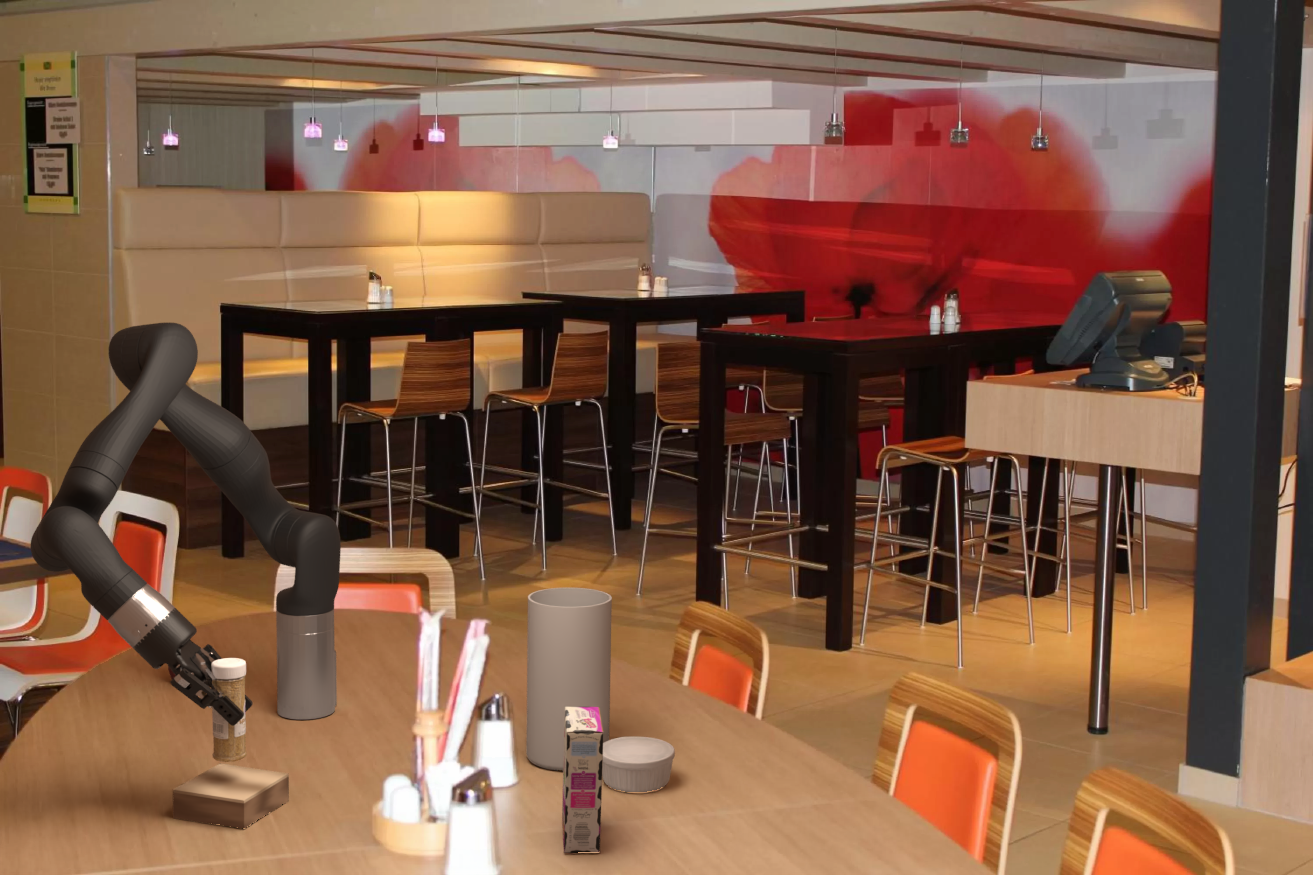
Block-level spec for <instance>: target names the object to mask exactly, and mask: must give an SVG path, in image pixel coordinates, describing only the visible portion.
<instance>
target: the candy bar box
mask: <svg viewBox="0 0 1313 875" xmlns="http://www.w3.org/2000/svg"><path fill="white" fill-rule="evenodd" d="M602 768H603V727H602V722H601V715H600V708H599V707H565V722H564V757H563V771H562V805H561V806H562V807H561V808H562V810H561V811H562V813H561V814H562V815H561V818H562V819H561V824H562V840H563V841H562V842H563V853H564V854H565V853H578V852H599V851H600V852H601V831H602V830H601V827H602V825H601V824H602V820H601V819H602V800H603V799H602V797H603V796H602V795H603V777H602Z"/></svg>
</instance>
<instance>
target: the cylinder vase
mask: <svg viewBox="0 0 1313 875" xmlns="http://www.w3.org/2000/svg"><path fill="white" fill-rule="evenodd" d="M612 598H613V597H612V595H611V594H609V593H607V592H605V591H601V590H598V589H593V588H586V587H585V588H584V587H553V588H551V587H550V588H545V589H539V590H536V591H534V592H531V593H530V594H528V595H527V636H526V638H527V645H526V646H527V647H526V648H527V651H526V655H527V658H526V659H527V662H526V738H525V739H526V740H525V741H526V743H525V744H526V750H525V751H526V753H525V754H526V758H527V759H528V760H529V761H530V762H531V763H532V764H533V765H535V766H537V767H540V768H542V769H546V770H552V771H558V770H562V771H561V772H563V757H564V722H565V707H599V708H600V715H601V722H602V727H603V743H604V742H606V741H609V740H610V725H611V723H610V720H611V718H610V717H611V716H610V714H611V712H610V710H611V667H612V666H611V662H612V659H611V658H612V651H611V650H612V606H613V605H612V602H613V601H612V600H613V599H612Z"/></svg>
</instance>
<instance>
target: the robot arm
mask: <svg viewBox="0 0 1313 875" xmlns="http://www.w3.org/2000/svg"><path fill="white" fill-rule="evenodd" d="M198 352H199V350H198V344H197V341H196V338H195V337H194V335H193V333H192V332H191V331H190V330H189V328H187V327H186V326H185V325H183V324H180V323H177V322H156V323H148V324H140V325H133V326H129V327H125V328H122V329H120V330H118V331H117V332H115V334H114V335H113V336H112V337H111V339H110V341H109V344H108V359H109V362H110V366H111V368H112V371H113V372H114V373H115V374H114V375H115V376H116V378H117V379H118V380H119V381H120V382H121V383H122V385H123V386H124V387H125V388H126V389H127V390H128V391H129V392H128V394H127V395H126V396H125V397H124V399H122V401H120V403H119V404H118V405H117V406H116V407H115V408H114V409H113V410H112V411H111V412H110V413H108V415H106V417H104V418H103V420H101V421H100V422H99V423H98V424H97V425H96V426H95V427H94V428H93V429H92V430H91V431H90V432H89V434H88V435H87V436H86V437H85V439H84V440H83V442H82V443H81V445H80V446H79V448H78V450H77V452H76V453H75V456H74V458H73V459H72V461H71V463H70V464H69V466H68V468H67V470H66V473H65V475H64V478H63V480H62V482H61V484H60V487H59V489H58V492H57V494H56V496H54V499H53V500H52V502H51V503H50V504H49V507H48V508H47V509H46V511H45V514H44V515H43V517H42V518H41V520H40V522H39V524H38V525H37V527H36V528H35V530H34V531H33V534H32V536H31V540H30V551H31V552H30V553H31V555H32V557H33V560H34V561H35V563H36V564H38V566H39V567H41V569H44V570H46V571H50V572H53V573H54V572H55V573H58V572H64V571H67V570H70V571H71V572H72V573H73V574H74V575H75V576H76V578H77V579H78V580H79V582H80V588H81V594H82V596H83V597H84V599H85V600H86V601H87V603H88V604H89V605H91V607H93V609H94V610H96V611H97V612H98V613H99V614H100V615H101V616H102V618H104V619H105V620H106V621H107V622H108V624H110V625H111V627H112V628H113V629H114V631H115V632H116V634H118V635H119V636H120V637H121V638H122V639H123V640H124V641H125V643H127V644H128V645H129V646H130V647H131V648H132V649H133V650H134V651H135V652H136V653H137V654H138V655H139V656H140V657H141V658H142V659H143V660H144V661H146V662H147V664H149V665H150V666H151V668H153V669H154V670H159V669H160V668H161V667H163V666H164V665H165V664H166V665H167V667H168V666H169V667H170V669H171V670H172V672H173V673H174V674H175V677H174V678H173V679H171V680H170V681H169V682H170V685H172V687H173V688H175V689H176V690H178V691H179V692H180V693H181V694H183V695H184V696H185V697H187V699H189V700H190V701H192V702H193V703H195V704H196V705H197V706H198V707H200V708H201V709H203V710H205V709H206V708H207V707H208V708H210V709H212V707H213V708H214V709H215V710H216V711H217V712H218V713H219V714H220V715H221V716H222V717H223V718H224V719H225V720H226V721H227V722H228V723H229V724H230V725H232V726H234V725H236V724H237V723H238V722H239V721H240V720H241V719H242V718H243V716H244V712H243V711H242V710H241V709H240V708H239V707H238V706H237V705H235V704H234V703H233V702H232V701H231V700H230V699H229V698H228V697H227V696H225V695H224V693H223V691H222V690H221V689H220V688H219V687H218V685H217V684H216V678H215V676H214V675H213V673H212V672H211V664H212V662H213V661H215V660H218V659H223V658H222V656H220V654H219V653H218V652H217V650H216V649H215V648H214V647H213V645H211V644H210V643H207V644H206V645H205V646H204V647H201V646H199V645H198V644H196V643H195V642H194V641H192V638H193V637H194V636H195V635H196V634H197V630H198V629H197V628H196V626H195V625H193V623H192V622H191V621H190V620H188V618H187V617H186V616H184V614H182V613H181V612H180V611H179V610H178V609H177V608H176V607H175V605H173V604H172V603H171V602H170V601H169V600H168V599H167V597H165V596H164V595H163V594H162V593H161V592H159V591H158V590H157V589H155V588H154V587H152V585H150V584H149V583H148V582H147V581H146V580H144V578H143V577H142V576H140V575H139V573H137V571H135V569H134V568H132V567H131V566H130V565H129V564H128V563H127V562H126V561H125V560H124V559H123V557H122V556H121V554H120V553H119V551H118V550H117V547H116V546H115V545H114V543H113V542H112V541H111V539H110V538H109V536H108V535H107V534H106V531H104V529H103V528H102V527H101V525H100V524H99V522H100V519H101V518H102V516H103V514H104V512H105V511H106V510H107V508H108V507H109V506H110V505H111V503H112V501H113V500H114V498H115V496H116V494H117V493H118V491H119V488H120V487H121V485H122V483H123V481H124V479H125V476H126V474H127V472H128V470H129V468H130V466H131V464H132V462H133V461H134V459H135V457H136V455H137V453H138V452H139V450H140V448H141V447H142V445H143V444H144V442H145V440H146V439H147V438H148V436H149V435H150V433H151V432H152V430H153V429H154V428H155V427H156V425H157V424H158V422H159V421H161V422H162V423H163V425H164V426H165V427H166V428H167V429H168V430H169V431H170V433H171V434H172V435H173V436H174V437H175V439H177V441H178V442H180V444H181V445H182V446H183V447H184V449H186V450H187V451H188V453H189V454H190V455H191V457H192V458H193V459H194V461H195V462H196V463H197V465H198V466H199V467H200V468H201V469H202V471H203V472H204V473H205V474H206V475H207V477H208V478H209V479H210V480H211V481H212V482H213V483H214V485H215V486H217V488H218V489H219V490H220V491H221V493H223V495H224V496H225V497H226V498H227V499H228V500H229V502H230V503H231V504H232V505H233V506H234V508H235V509H236V510H237V511H238V512H239V513H240V514H241V515H242V517H243V518H244V519H245V521H246V522H247V524H248V525H249V528H251V530H252V531H253V533H254V535H255V536H256V538H257V539H258V541H259V543H260V544H261V545H262V547H263V549H264V550H265V552H267V554H268V555H269V557H270V558H271V559H273V560H274V561H275V562H276V563H278V564H280V565H283V566H286V567H289V568H295V569H294V571H295V572H294V582H293V585H292V586H289V587H287V588H284V589H280V591H278V593H277V594H276V597H275V599H276V601H275V609H276V610H275V613H276V615H275V616H276V618H275V619H276V620H275V621H276V626H275V627H276V677H277V678H276V688H277V689H276V694H277V695H276V698H277V701H276V704H277V706H276V707H277V709H276V710H277V714H278V716H280V717H283V718H286V719H291V720H315V719H320V718H325V717H327V716H330V715H331V714H333V713H334V712H335V710H336V706H337V704H338V701H337V699H338V698H337V697H338V696H337V695H338V694H337V692H338V691H337V689H338V688H337V651H336V649H335V600H336V596H337V595H338V591H339V586H340V573H341V572H340V569H341V568H340V566H341V549H342V548H341V546H342V545H341V543H342V542H341V533H340V529H339V527H338V525H337V523H336V521H335V520H334V519H333V518H332V517H331V516H328V515H326V514H321V513H317V512H312V511H306V510H300V509H297V508H296V507H295V506H293V505H292V504H291V503H290V502H288V501H287V500H286V499H285V497H283V495H282V494H281V493H280V492H279V491H278V489H277V488H276V486H275V485H274V483H273V481H272V476H271V465H270V461H269V457H268V454H267V451H266V449H265V448H264V447H263V445H262V444H261V442H260V441H259V440H258V438H257V437H256V436H255V434H254V433H253V432H252V431H251V429H250V428H249V427H248V426H247V424H246V423H245V422H244V421H243V420H242V419H241V418H239V417H238V416H236V414H234V413H232V412H231V411H229V410H227V409H226V408H224V407H223V406H221V405H219V404H218V403H216V402H214V401H212V400H211V399H208V398H207V397H205V396H203V395H202V394H199V393H198V392H197V391H195V390H194V389H192V388H191V387H190V386H189V385H188V384H187V383H188V381H189V380H190V378H191V376H192V375H193V372H194V371H195V369H196V367H197V364H198V355H199V353H198ZM253 704H254V701H252V700H251V698H250V697H249V696H247V695H246V694H245V713H246V712H247V711H248V710H249V709H250V708H252V706H253Z"/></svg>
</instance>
